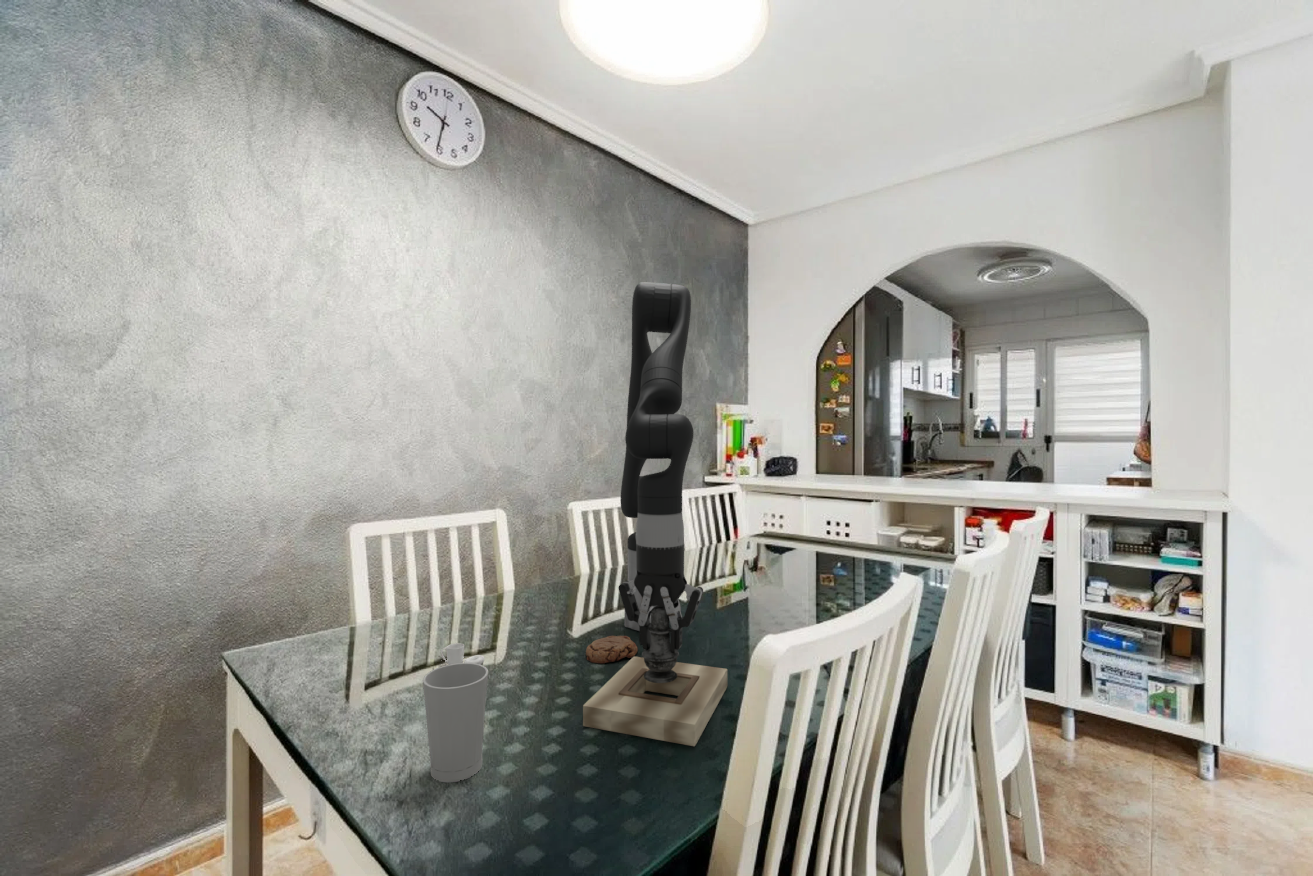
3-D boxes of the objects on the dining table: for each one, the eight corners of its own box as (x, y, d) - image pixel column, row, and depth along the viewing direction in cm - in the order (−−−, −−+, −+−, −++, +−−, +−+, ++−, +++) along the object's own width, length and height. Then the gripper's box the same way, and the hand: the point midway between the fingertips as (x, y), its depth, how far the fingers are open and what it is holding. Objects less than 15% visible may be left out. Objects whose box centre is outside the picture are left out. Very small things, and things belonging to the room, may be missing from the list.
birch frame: (583, 726, 86) (583, 703, 86) (633, 673, 105) (633, 654, 105) (694, 746, 81) (694, 722, 81) (727, 686, 99) (727, 667, 99)
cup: (434, 752, 79) (433, 664, 79) (494, 749, 80) (493, 661, 80) (414, 788, 71) (413, 689, 71) (481, 784, 72) (481, 687, 72)
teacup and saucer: (490, 664, 111) (490, 642, 111) (460, 680, 103) (459, 657, 103) (455, 657, 114) (455, 636, 114) (423, 672, 107) (423, 649, 107)
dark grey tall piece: (675, 685, 89) (675, 606, 89) (638, 682, 91) (637, 604, 90) (681, 670, 95) (681, 596, 95) (646, 667, 96) (645, 594, 96)
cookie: (574, 661, 112) (574, 645, 112) (603, 642, 121) (603, 628, 121) (620, 670, 107) (620, 653, 107) (646, 650, 117) (646, 635, 117)
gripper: (710, 539, 94) (710, 646, 94) (627, 534, 99) (627, 637, 99) (697, 548, 87) (697, 664, 87) (609, 542, 92) (609, 652, 92)
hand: (660, 649), depth 93 cm, fingers closed on dark grey tall piece, 4 cm apart
